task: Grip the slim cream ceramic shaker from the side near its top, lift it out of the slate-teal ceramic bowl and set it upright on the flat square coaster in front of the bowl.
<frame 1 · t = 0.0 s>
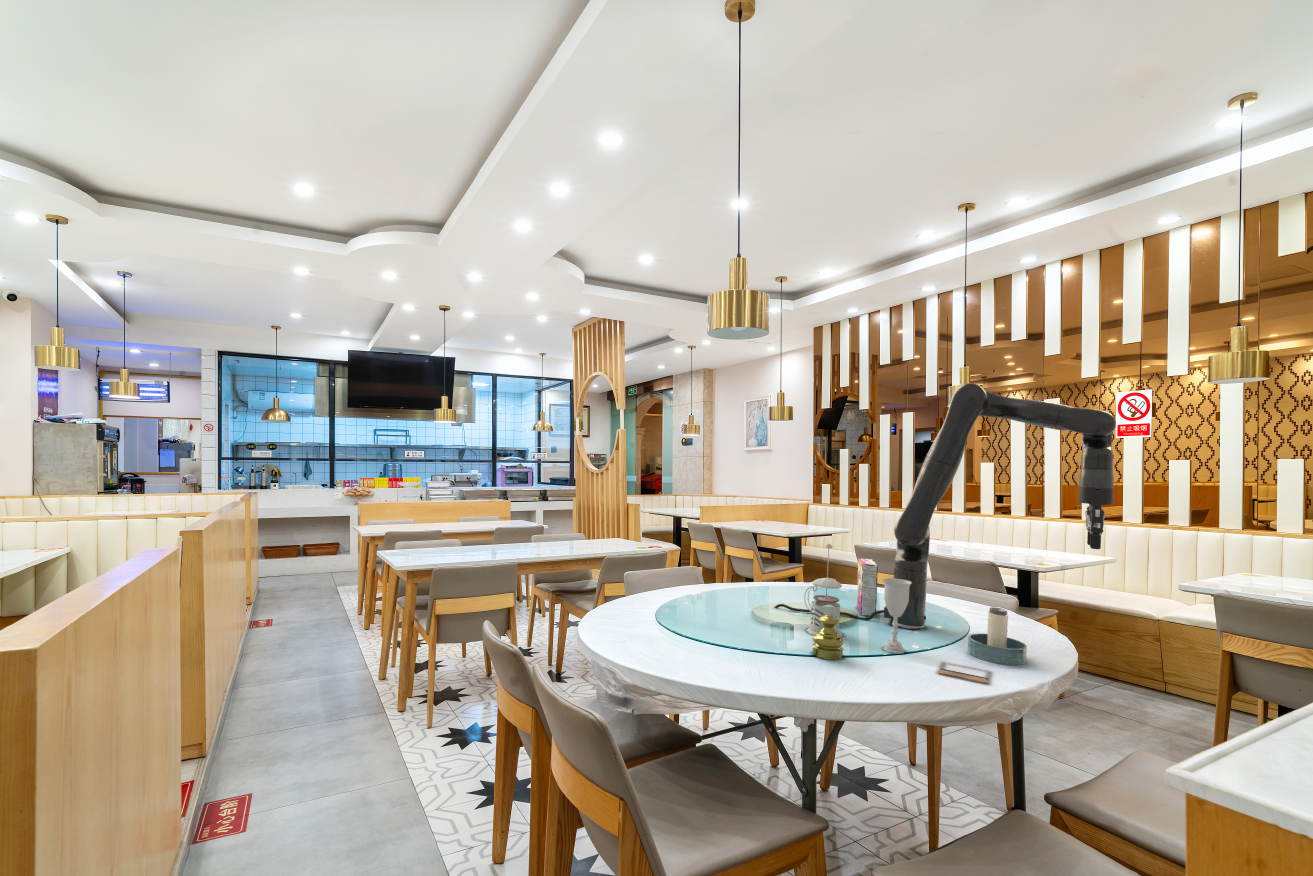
hand: (1093, 547, 164), 29 cm above the table, tool pointing down, fingers open, 8 cm apart
cream shaker: (996, 656, 158), point 1 cm above the table, touching bowl
french press: (821, 632, 174), on the table
candy bar box: (865, 612, 200), on the table
chalice: (893, 651, 161), on the table
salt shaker: (827, 656, 153), on the table
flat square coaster: (964, 673, 146), on the table
bowl: (996, 658, 158), on the table
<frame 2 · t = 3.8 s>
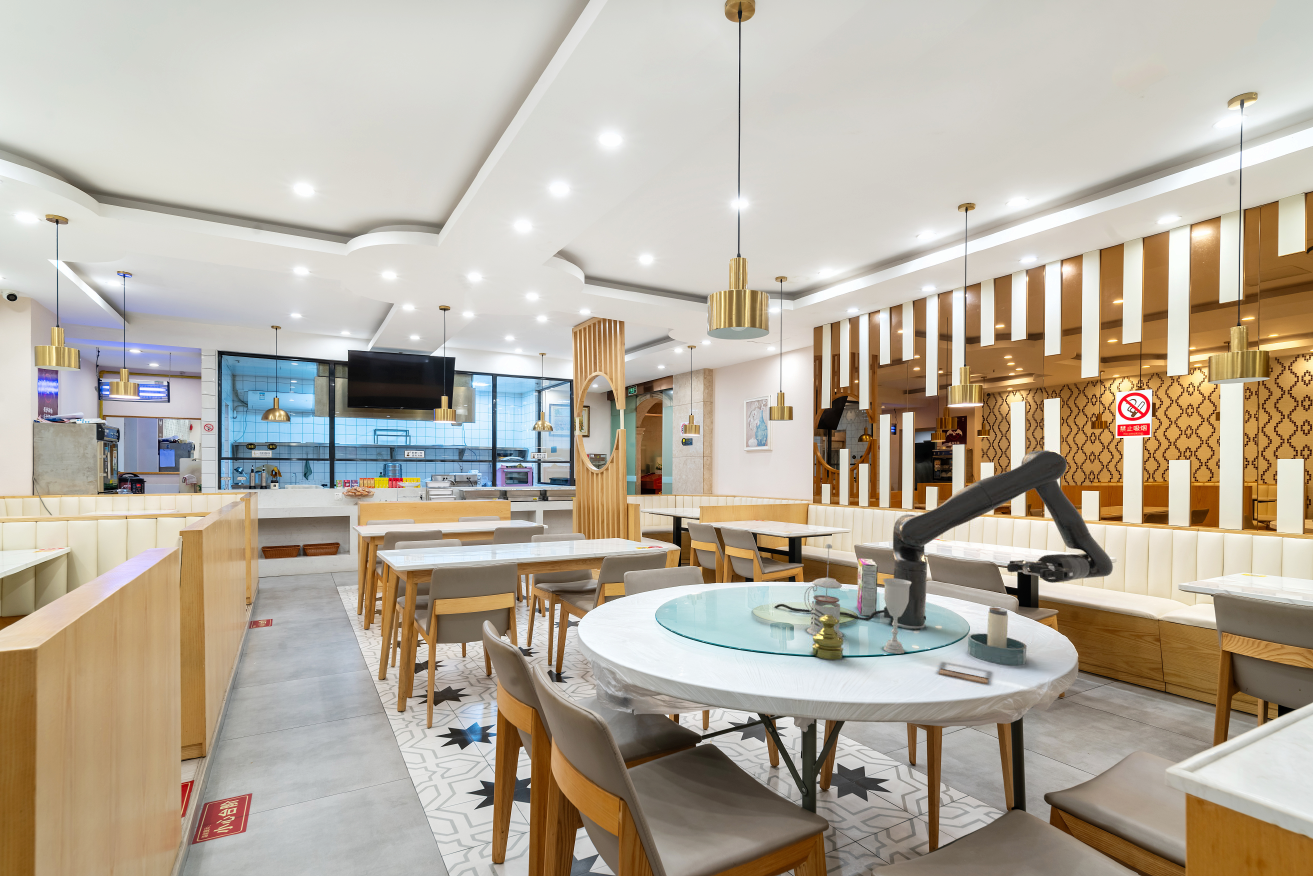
hand: (1024, 571, 164), 22 cm above the table, tool horizontal, fingers open, 8 cm apart
nothing on the table moved.
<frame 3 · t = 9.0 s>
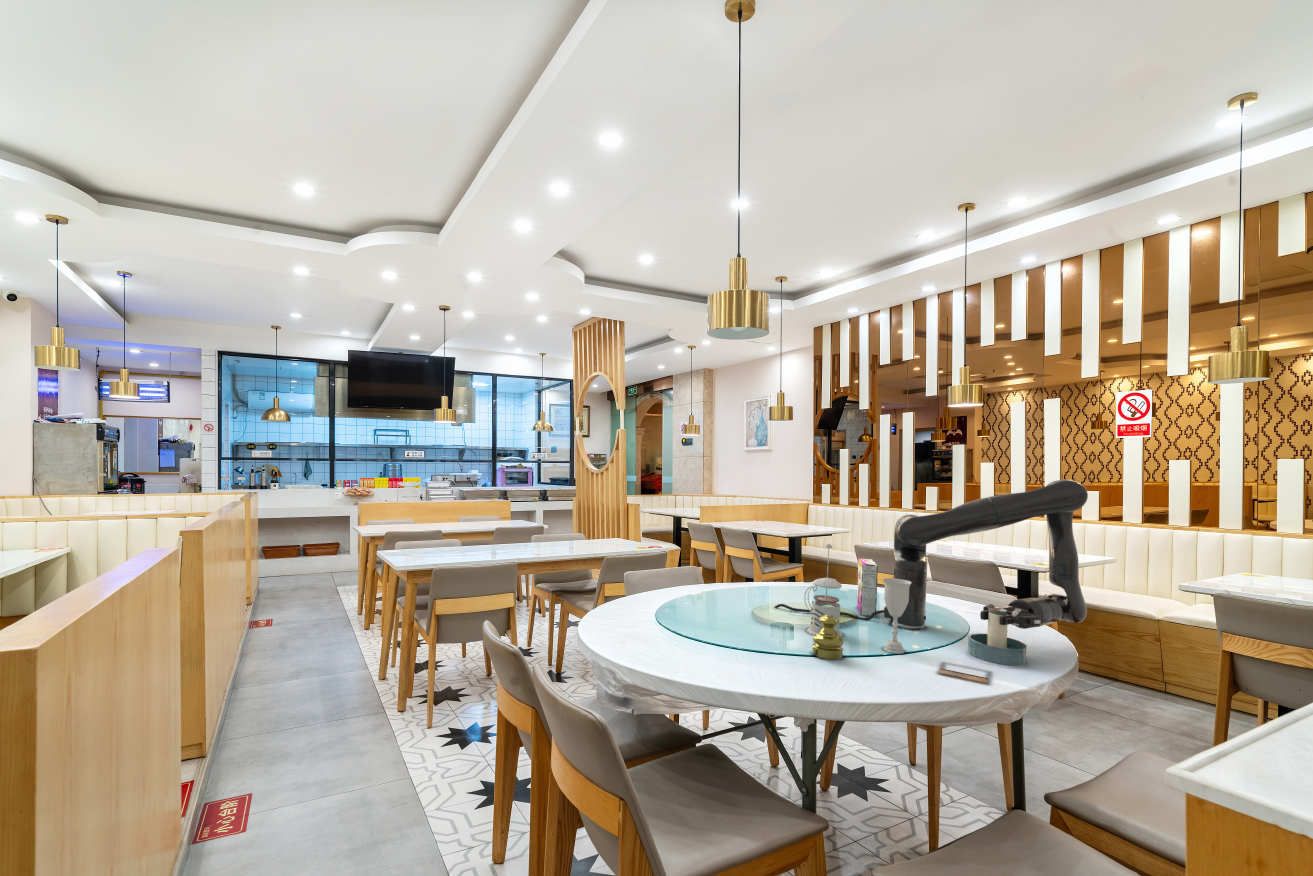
hand: (991, 618, 157), 11 cm above the table, tool horizontal, fingers closed on cream shaker, 4 cm apart
cream shaker: (996, 656, 158), point 1 cm above the table, touching bowl, gripper
everything else where it was.
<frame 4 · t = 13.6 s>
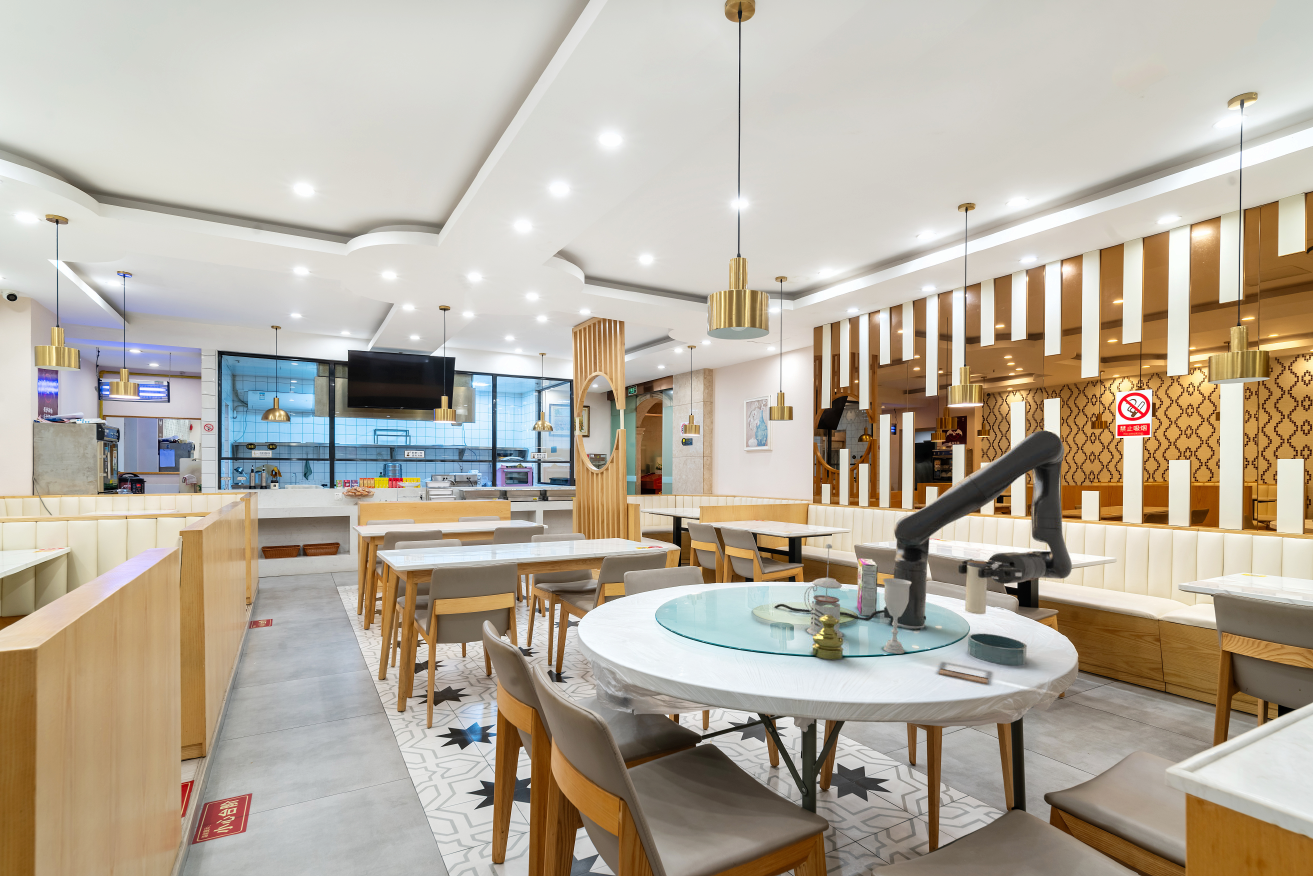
hand: (970, 571, 148), 24 cm above the table, tool horizontal, fingers closed on cream shaker, 4 cm apart
cream shaker: (975, 611, 149), point 14 cm above the table, touching gripper
everything else where it was.
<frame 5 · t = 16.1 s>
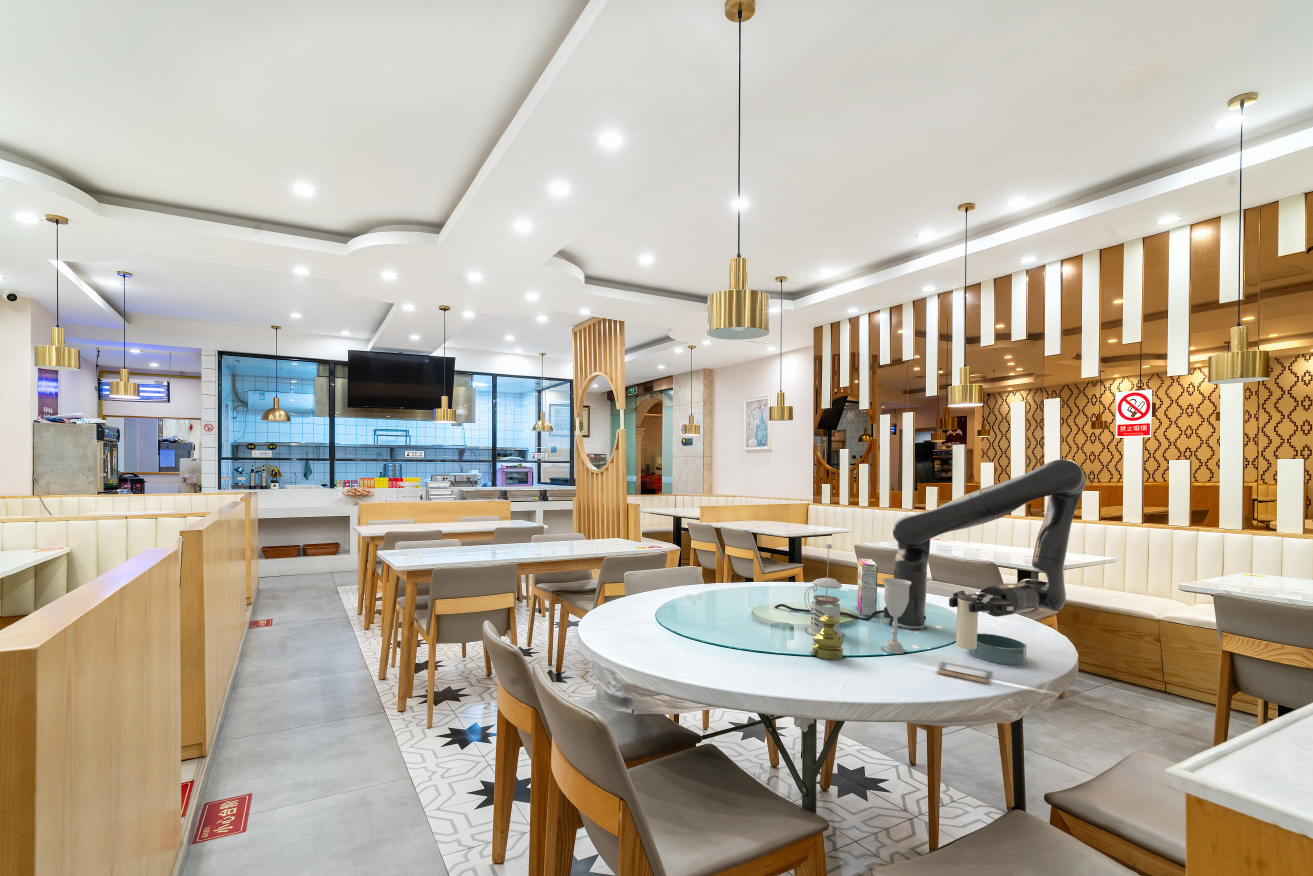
hand: (960, 605, 145), 16 cm above the table, tool horizontal, fingers closed on cream shaker, 4 cm apart
cream shaker: (966, 646, 146), point 6 cm above the table, touching gripper
everything else where it was.
when the fingers open (10 cm above the table, at t = 18.2 s): cream shaker stays where it is, resting on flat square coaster.
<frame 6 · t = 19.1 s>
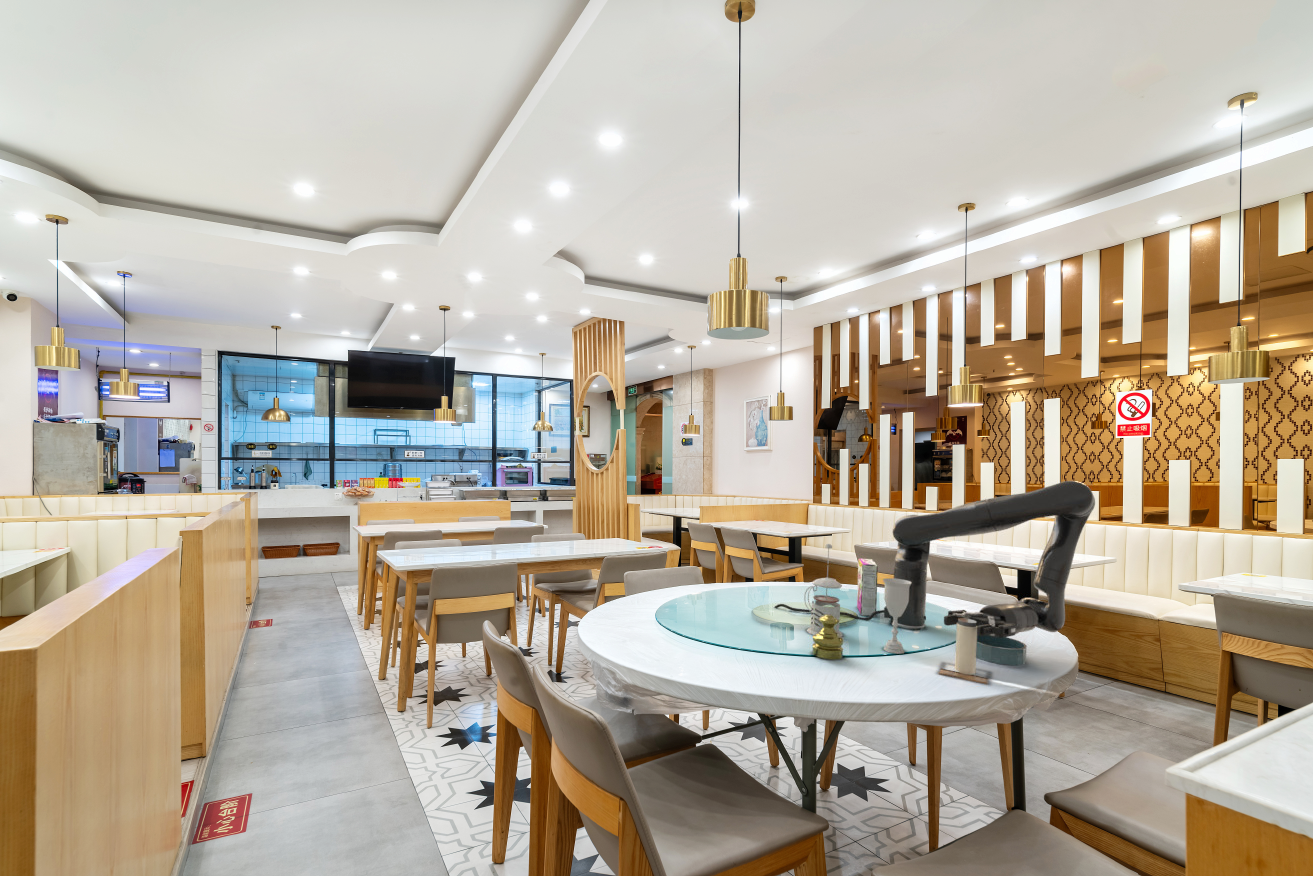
hand: (961, 625, 145), 11 cm above the table, tool horizontal, fingers open, 8 cm apart
cream shaker: (965, 671, 146), resting on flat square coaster
everything else where it was.
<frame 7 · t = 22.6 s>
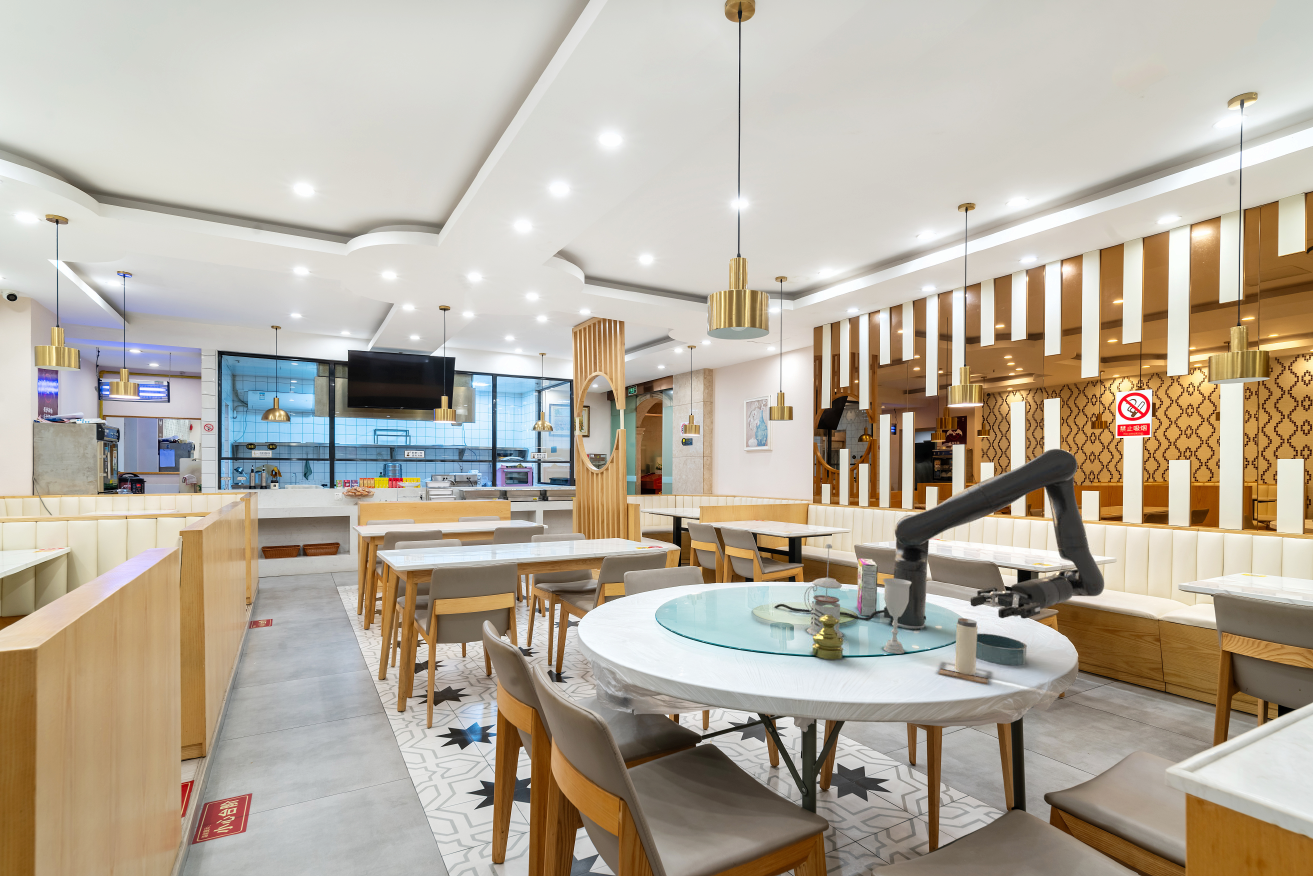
hand: (985, 608, 154), 14 cm above the table, tool horizontal, fingers open, 8 cm apart
nothing on the table moved.
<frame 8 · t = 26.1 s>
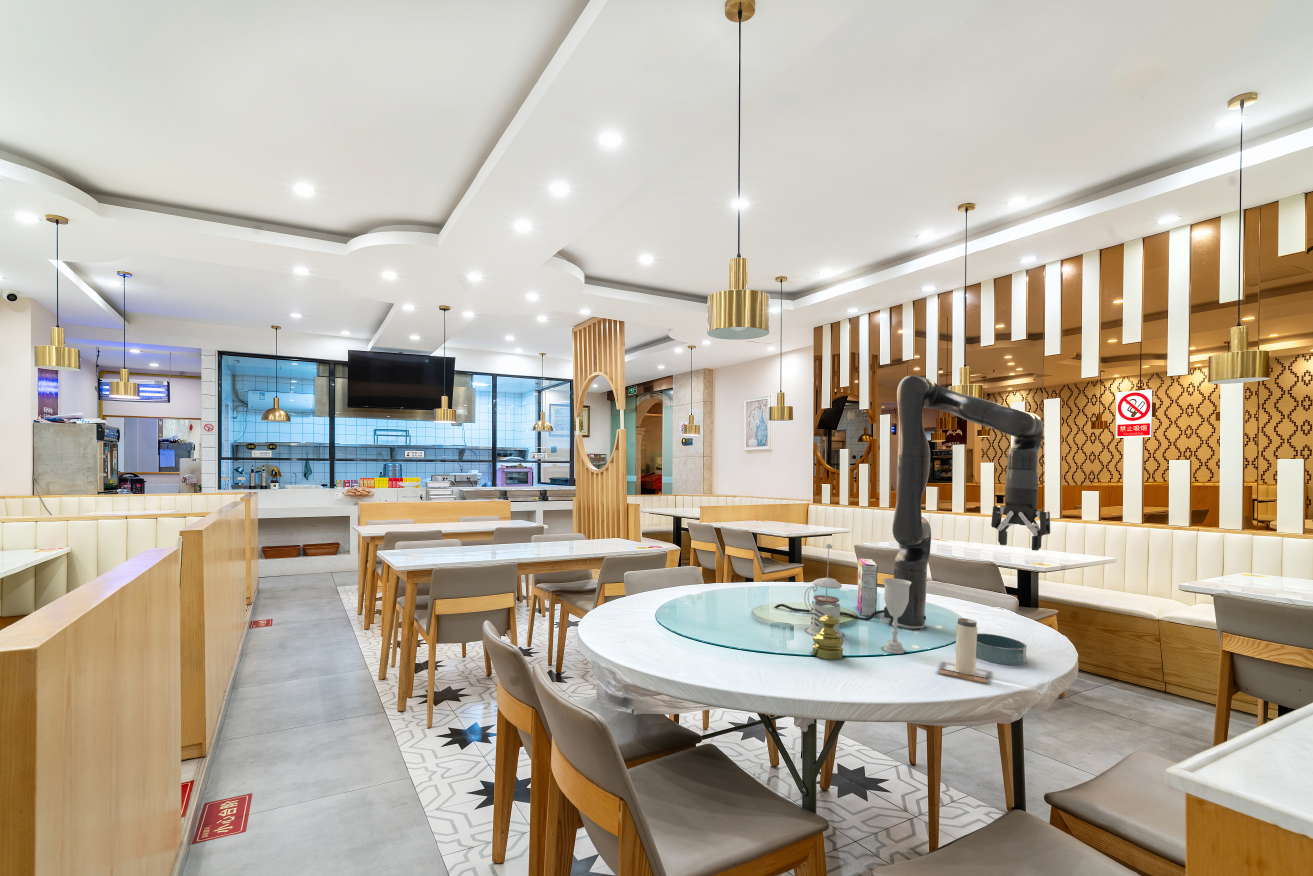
hand: (1018, 547, 164), 28 cm above the table, tool pointing down, fingers open, 8 cm apart
nothing on the table moved.
at the end: cream shaker inside the target area (0.1 cm from its centre), resting on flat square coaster; cream shaker tilted 0°; the gripper is holding nothing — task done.
